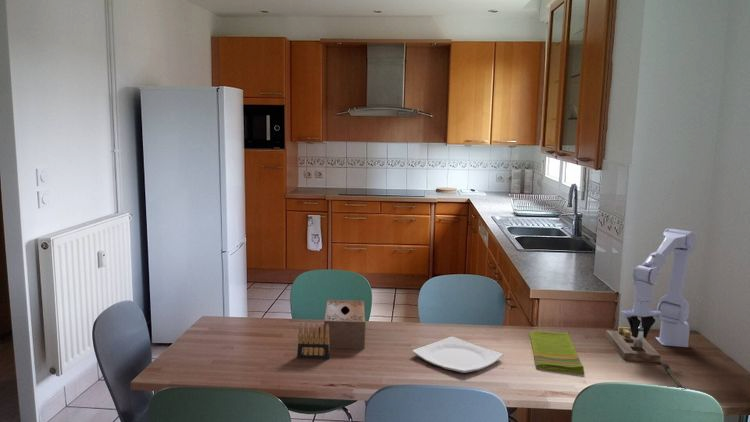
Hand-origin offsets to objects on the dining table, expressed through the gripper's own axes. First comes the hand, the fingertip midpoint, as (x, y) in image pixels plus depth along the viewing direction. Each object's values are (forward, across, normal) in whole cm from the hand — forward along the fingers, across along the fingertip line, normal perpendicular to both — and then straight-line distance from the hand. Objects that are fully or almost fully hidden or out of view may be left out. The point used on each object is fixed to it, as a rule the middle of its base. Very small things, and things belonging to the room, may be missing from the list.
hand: (639, 336), depth 204 cm
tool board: (+7, -2, -7) cm, 10 cm away
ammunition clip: (+8, +115, -3) cm, 115 cm away
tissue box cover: (+8, +103, -24) cm, 106 cm away
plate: (+8, +66, 0) cm, 67 cm away
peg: (+3, 0, 0) cm, 4 cm away
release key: (+4, -4, -14) cm, 15 cm away
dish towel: (+8, +29, -4) cm, 31 cm away
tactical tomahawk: (+8, -2, +19) cm, 21 cm away
